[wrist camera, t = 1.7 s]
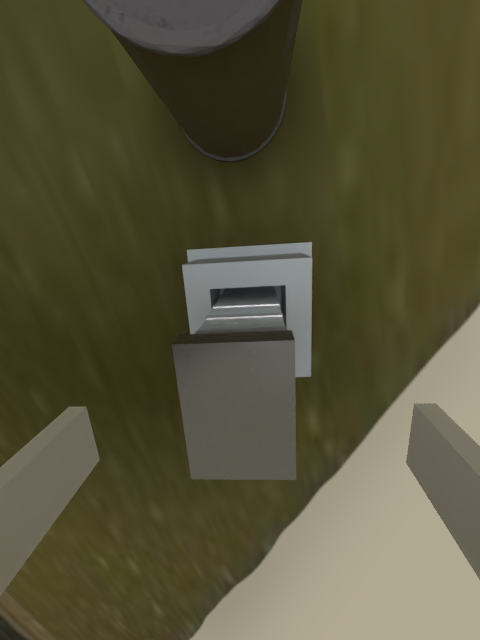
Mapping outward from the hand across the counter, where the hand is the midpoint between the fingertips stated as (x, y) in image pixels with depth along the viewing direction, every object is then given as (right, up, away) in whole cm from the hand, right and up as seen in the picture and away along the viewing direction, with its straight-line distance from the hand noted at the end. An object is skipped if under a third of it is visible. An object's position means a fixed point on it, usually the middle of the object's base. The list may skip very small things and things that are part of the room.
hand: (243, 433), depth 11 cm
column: (+1, +6, +19) cm, 20 cm away
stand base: (+1, +6, +20) cm, 21 cm away
